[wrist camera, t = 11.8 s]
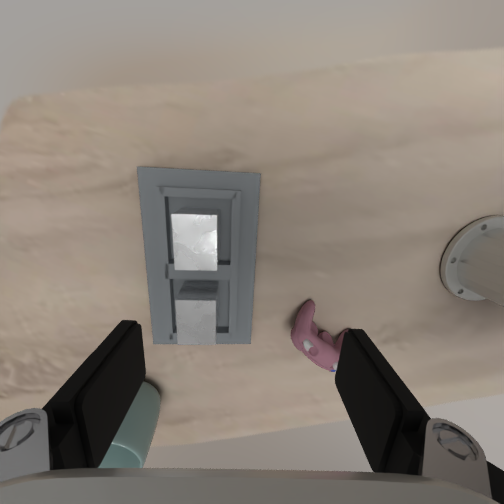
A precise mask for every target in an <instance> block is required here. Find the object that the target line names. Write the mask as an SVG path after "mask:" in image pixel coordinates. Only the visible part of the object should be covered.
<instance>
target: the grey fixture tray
mask: <svg viewBox="0 0 504 504" xmlns="http://www.w3.org/2000/svg"><path fill="white" fill-rule="evenodd" d="M137 174H138V184H139V195H140V206H141V216H142V227H143V238H144V248H145V259H146V270H147V280H148V291H149V302H150V312H151V323H152V334H153V344H178V342H177V324H176V306H175V300H176V298H177V296H178V293H179V291H180V289H181V287H182V285H183V283H184V281H201V282H219V321H218V329H217V337H216V344H251V329H252V312H253V295H254V278H255V261H256V244H257V227H258V210H259V193H260V176H261V173H244V172H226V171H207V170H189V169H171V168H153V167H137ZM181 208H208V209H220V259H219V264H218V269H217V271H208V270H175V266H174V250H173V233H172V217H171V214H172V213H174V212H175V211H177V210H179V209H181Z"/></svg>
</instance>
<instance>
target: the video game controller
mask: <svg viewBox="0 0 504 504" xmlns="http://www.w3.org/2000/svg"><path fill="white" fill-rule="evenodd" d="M314 312H315V303H314V301H312V300H309V301H307V302H306V303H305V304H304V305H303V306H302V307H301V309H300V311H299V313H298V315H297V318H296V321H295V325H294V327H293V328H292V330H291V339H292V342H293V344H294V345H295V347H296V348H297V349H298V350H300V351H302V352H303V353H304V354H305V355H306V356H307V357H308V358H309V359H310V360H311V361H312V362H314V363H315V364H316V365H318V366H320V367H321V368H324V369H326V370H329V371H331V372H335V371H336V370H337V365H338V360H339V356H340V351H341V346H342V341H343V336H344V333H345V332H348V330H349V329H347V330H345V331H343V332H342V333H341V335H340V336H339V337H338V339H337V341H336V343H335V345H334V343H333V341H332V338H331V336H330V334H329V333H328V332H325V331H324V332H322V333H319V334H318V328H317V326H316V325H315V323H314V322H312V318H313V315H314Z"/></svg>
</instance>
